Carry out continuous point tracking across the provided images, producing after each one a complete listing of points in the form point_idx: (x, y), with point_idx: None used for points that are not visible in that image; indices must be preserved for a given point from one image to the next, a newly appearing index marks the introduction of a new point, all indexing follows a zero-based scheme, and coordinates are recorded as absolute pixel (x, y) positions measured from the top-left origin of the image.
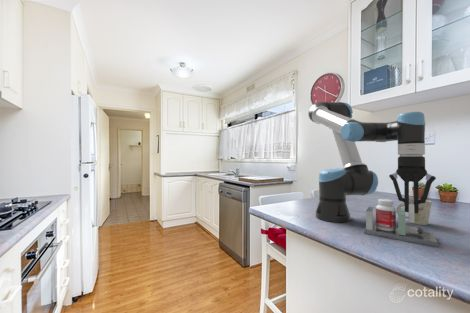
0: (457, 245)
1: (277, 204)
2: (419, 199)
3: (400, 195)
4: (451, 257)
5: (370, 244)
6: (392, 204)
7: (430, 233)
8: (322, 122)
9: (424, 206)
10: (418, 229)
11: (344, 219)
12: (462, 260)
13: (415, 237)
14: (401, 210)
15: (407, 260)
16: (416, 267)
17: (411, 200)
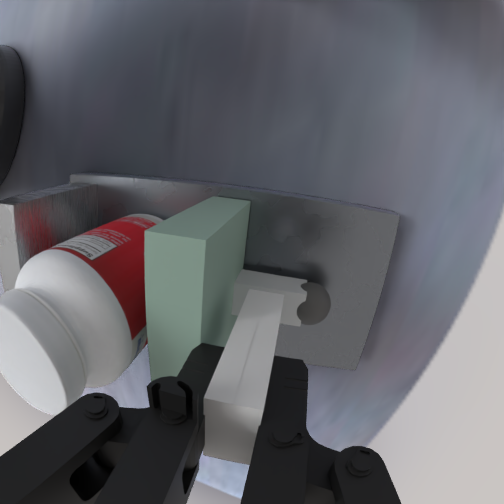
0: (448, 292)
1: None
2: (313, 490)
3: (95, 495)
4: (353, 425)
5: (133, 404)
6: (84, 380)
7: (381, 228)
8: None
9: None
10: (301, 323)
11: (1, 165)
12: (373, 431)
13: (277, 345)
14: (171, 339)
15: (226, 467)
16: (240, 485)
17: None
